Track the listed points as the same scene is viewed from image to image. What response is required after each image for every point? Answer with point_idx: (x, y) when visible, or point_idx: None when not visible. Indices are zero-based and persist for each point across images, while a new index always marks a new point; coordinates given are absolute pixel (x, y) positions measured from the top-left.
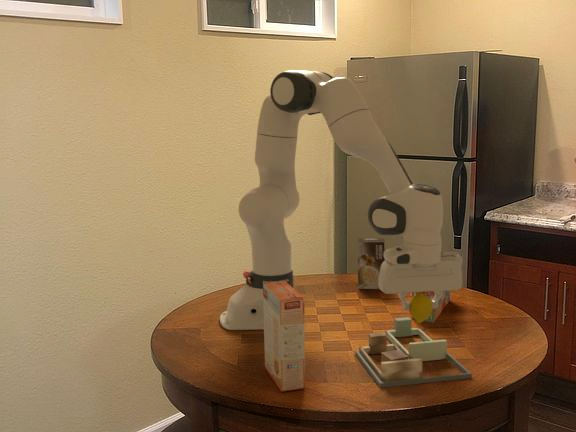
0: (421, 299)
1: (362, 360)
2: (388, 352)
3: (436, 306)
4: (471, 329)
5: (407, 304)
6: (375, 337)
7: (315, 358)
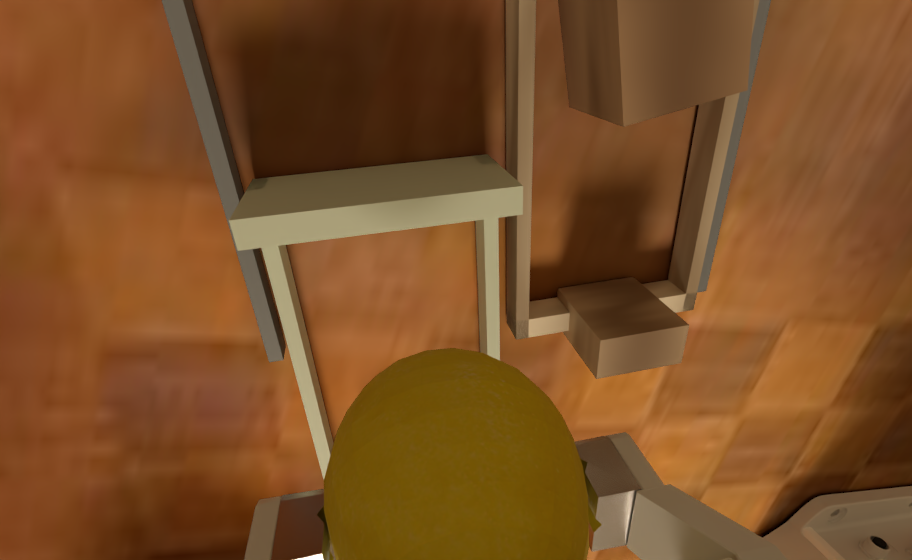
0: (516, 529)
1: (730, 178)
2: (705, 83)
3: (267, 510)
4: (30, 543)
5: (626, 480)
6: (661, 325)
7: (852, 259)
